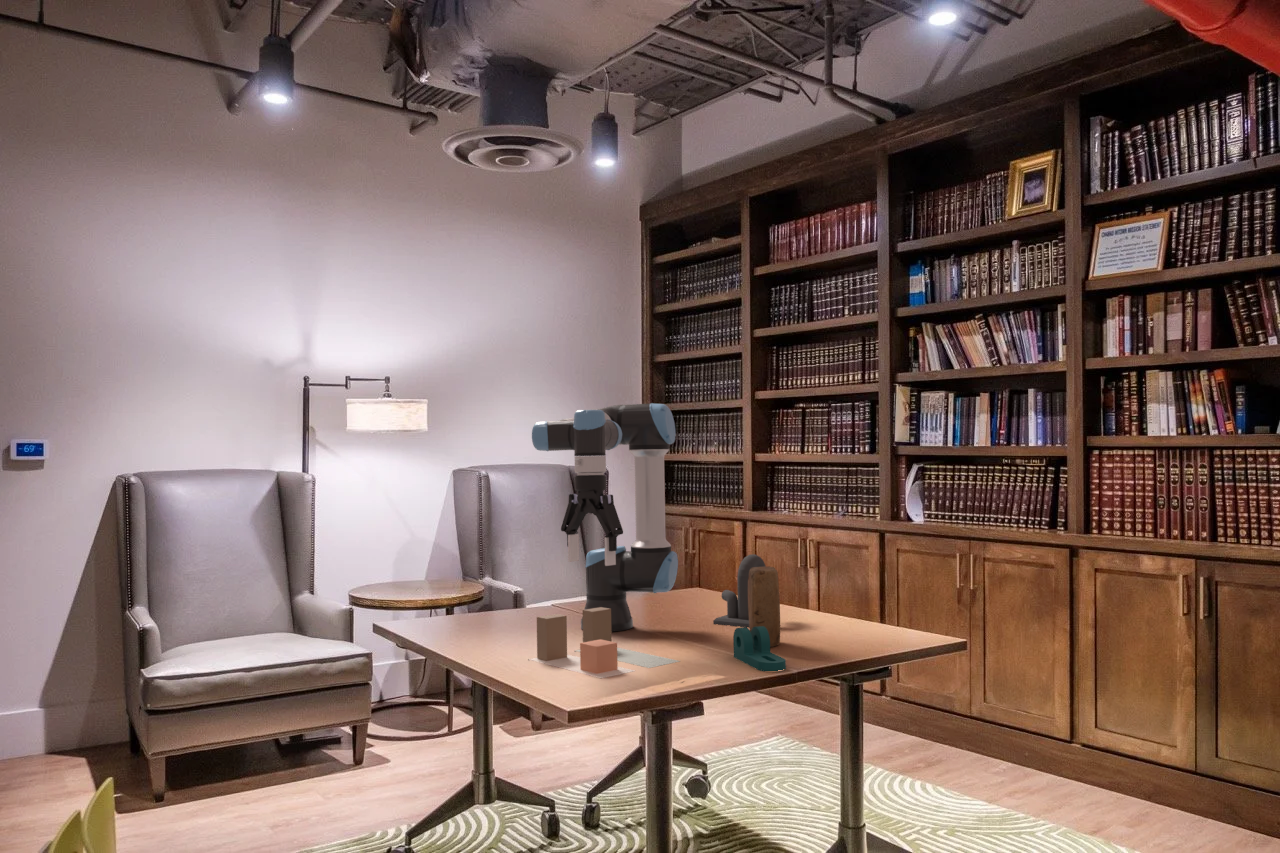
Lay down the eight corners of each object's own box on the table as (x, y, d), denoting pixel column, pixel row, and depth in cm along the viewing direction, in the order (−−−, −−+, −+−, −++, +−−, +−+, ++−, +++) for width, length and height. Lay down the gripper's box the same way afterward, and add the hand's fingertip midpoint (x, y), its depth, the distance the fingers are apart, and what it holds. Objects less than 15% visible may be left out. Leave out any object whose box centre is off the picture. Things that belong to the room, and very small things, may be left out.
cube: (580, 669, 219) (580, 643, 219) (601, 665, 223) (600, 639, 223) (597, 673, 215) (596, 646, 215) (617, 669, 219) (617, 642, 219)
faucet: (791, 621, 286) (790, 553, 286) (767, 629, 273) (766, 558, 273) (737, 616, 296) (736, 551, 296) (712, 624, 283) (710, 555, 283)
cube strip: (528, 664, 231) (527, 617, 232) (561, 657, 238) (560, 612, 238) (601, 683, 210) (600, 632, 211) (635, 676, 217) (635, 626, 217)
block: (782, 647, 246) (780, 569, 247) (753, 648, 246) (751, 570, 247) (774, 639, 257) (773, 564, 258) (746, 640, 257) (745, 565, 258)
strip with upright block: (574, 655, 241) (573, 610, 241) (605, 649, 247) (604, 605, 248) (649, 673, 220) (648, 623, 220) (680, 666, 226) (679, 618, 227)
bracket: (733, 658, 236) (733, 625, 236) (759, 656, 238) (758, 624, 238) (763, 673, 219) (763, 638, 219) (790, 671, 221) (790, 636, 221)
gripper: (546, 474, 237) (547, 561, 236) (612, 474, 219) (614, 568, 218) (569, 473, 242) (571, 558, 241) (637, 473, 224) (638, 565, 223)
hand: (591, 563), depth 230 cm, fingers open, 13 cm apart
